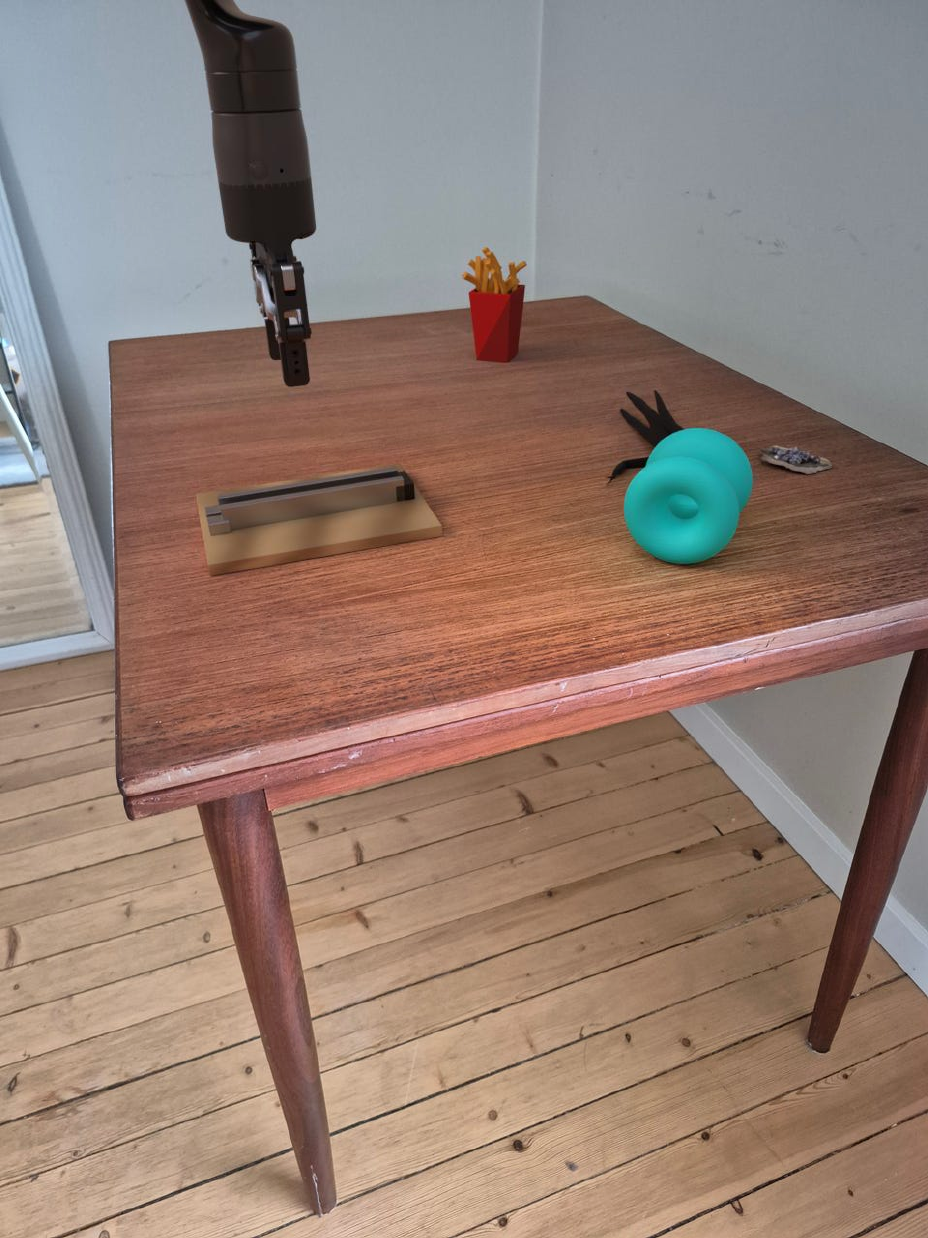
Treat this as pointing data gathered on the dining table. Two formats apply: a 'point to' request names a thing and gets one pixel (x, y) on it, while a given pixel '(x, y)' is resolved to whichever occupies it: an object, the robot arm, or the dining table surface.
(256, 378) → the dining table surface
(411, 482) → the steel tongs
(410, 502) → the cutting board
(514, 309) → the french fries
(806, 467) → the crystal mineral rock
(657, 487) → the teal yo-yo
